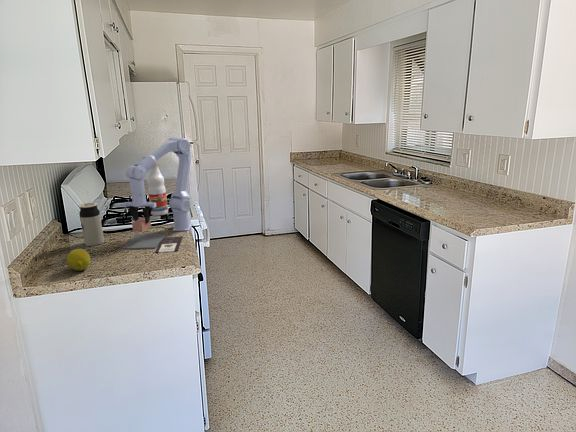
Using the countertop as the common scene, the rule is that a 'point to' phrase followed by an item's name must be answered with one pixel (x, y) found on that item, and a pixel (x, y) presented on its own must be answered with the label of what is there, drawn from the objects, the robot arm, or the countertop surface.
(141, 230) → the block
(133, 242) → the mat
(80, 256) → the lemon
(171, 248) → the chocolate bar
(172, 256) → the countertop surface
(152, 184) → the fruit juice
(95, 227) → the travel mug
